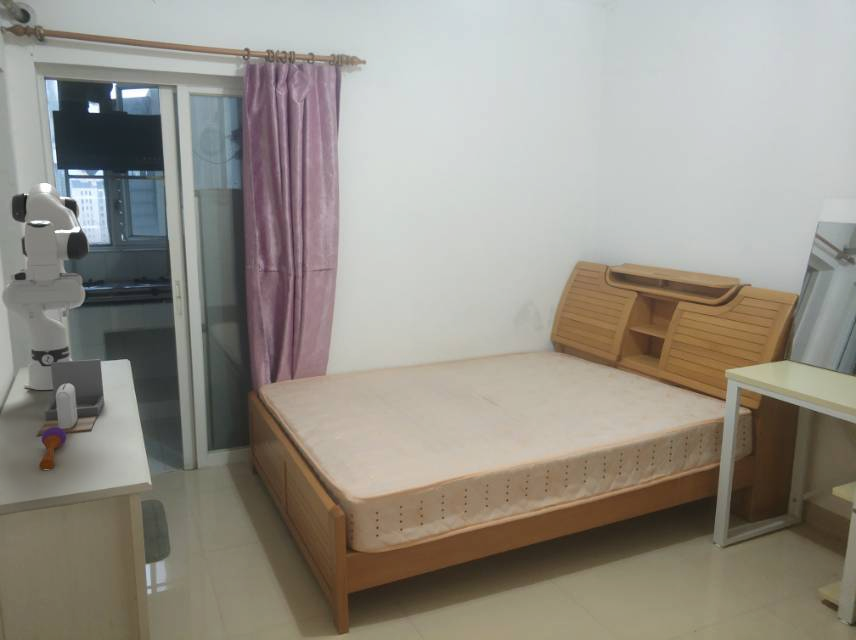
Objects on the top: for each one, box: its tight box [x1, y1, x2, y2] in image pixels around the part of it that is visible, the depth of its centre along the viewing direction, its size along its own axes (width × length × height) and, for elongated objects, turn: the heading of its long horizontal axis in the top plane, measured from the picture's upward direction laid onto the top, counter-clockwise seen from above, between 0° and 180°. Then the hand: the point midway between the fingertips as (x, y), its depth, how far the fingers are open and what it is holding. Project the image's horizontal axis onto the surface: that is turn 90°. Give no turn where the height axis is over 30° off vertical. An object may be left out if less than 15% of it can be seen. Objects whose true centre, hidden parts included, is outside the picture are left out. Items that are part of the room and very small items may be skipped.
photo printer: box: [56, 383, 78, 429], centre depth 194 cm, size 10×4×12 cm, turn 20°
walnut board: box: [36, 415, 98, 437], centre depth 195 cm, size 13×14×1 cm
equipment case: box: [44, 358, 105, 421], centre depth 208 cm, size 15×15×15 cm
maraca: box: [38, 427, 67, 471], centre depth 172 cm, size 6×6×20 cm
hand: (48, 317), depth 203 cm, fingers open, 8 cm apart
